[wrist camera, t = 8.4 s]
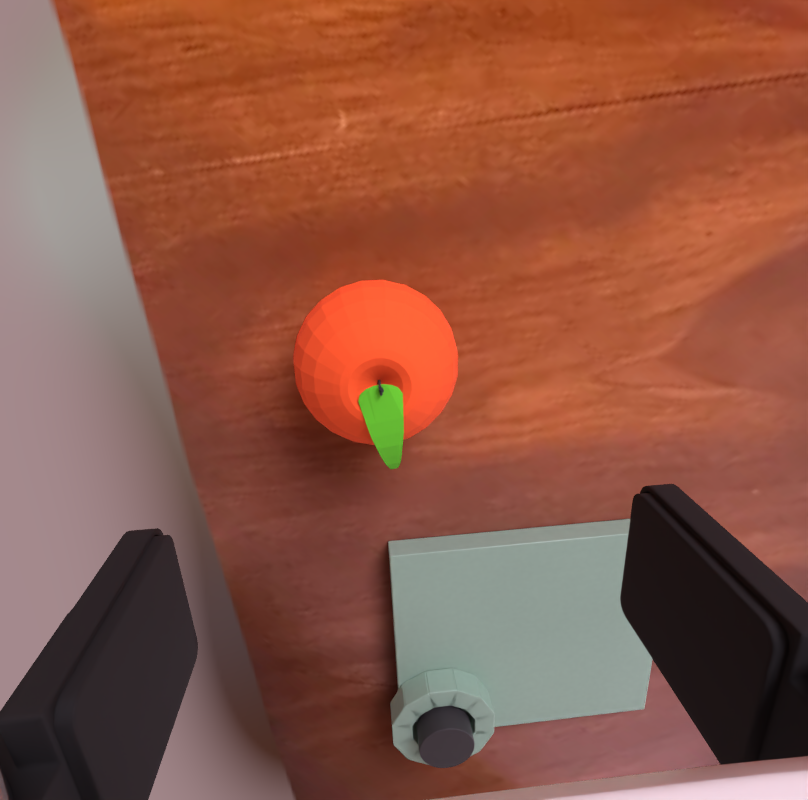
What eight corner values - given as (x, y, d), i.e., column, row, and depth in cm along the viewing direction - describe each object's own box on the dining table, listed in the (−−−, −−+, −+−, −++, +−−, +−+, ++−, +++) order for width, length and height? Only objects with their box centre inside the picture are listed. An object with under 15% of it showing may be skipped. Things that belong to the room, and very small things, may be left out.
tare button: (417, 745, 32) (420, 771, 31) (415, 707, 31) (418, 732, 29) (469, 739, 32) (474, 764, 31) (469, 701, 31) (475, 725, 30)
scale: (391, 725, 35) (395, 770, 32) (378, 541, 30) (380, 577, 27) (632, 696, 36) (656, 738, 33) (660, 515, 31) (691, 546, 28)
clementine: (454, 414, 27) (487, 483, 21) (322, 438, 27) (313, 516, 20) (433, 257, 24) (463, 278, 18) (285, 283, 24) (259, 315, 18)
